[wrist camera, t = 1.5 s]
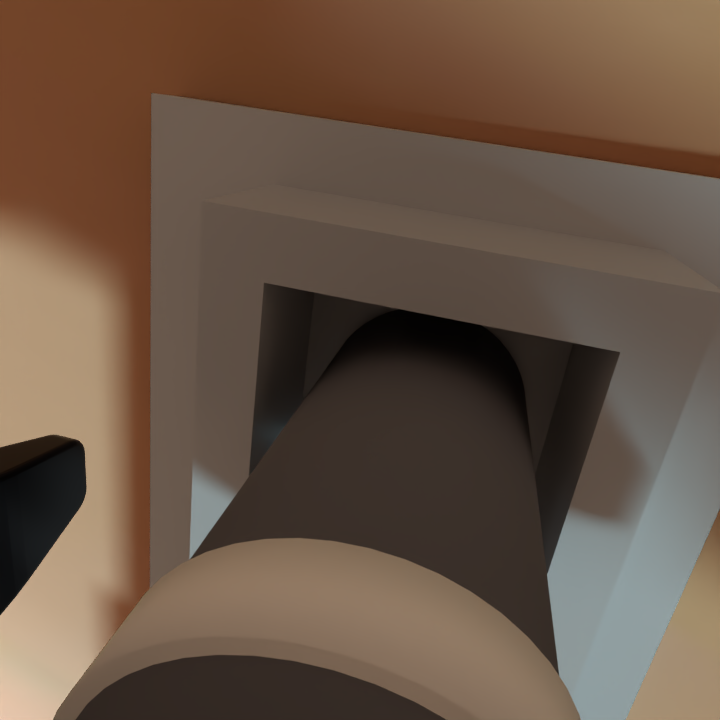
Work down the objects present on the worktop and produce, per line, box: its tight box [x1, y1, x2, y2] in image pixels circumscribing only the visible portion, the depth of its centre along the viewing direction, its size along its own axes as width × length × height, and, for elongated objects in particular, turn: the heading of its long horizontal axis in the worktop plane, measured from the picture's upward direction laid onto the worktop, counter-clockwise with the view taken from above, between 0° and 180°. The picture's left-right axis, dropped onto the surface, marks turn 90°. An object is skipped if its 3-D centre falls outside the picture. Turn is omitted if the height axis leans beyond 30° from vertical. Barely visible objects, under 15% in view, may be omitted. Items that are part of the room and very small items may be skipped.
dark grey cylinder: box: [53, 309, 581, 720], centre depth 8 cm, size 4×4×9 cm
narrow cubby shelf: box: [150, 93, 720, 720], centre depth 13 cm, size 12×23×5 cm, turn 172°
